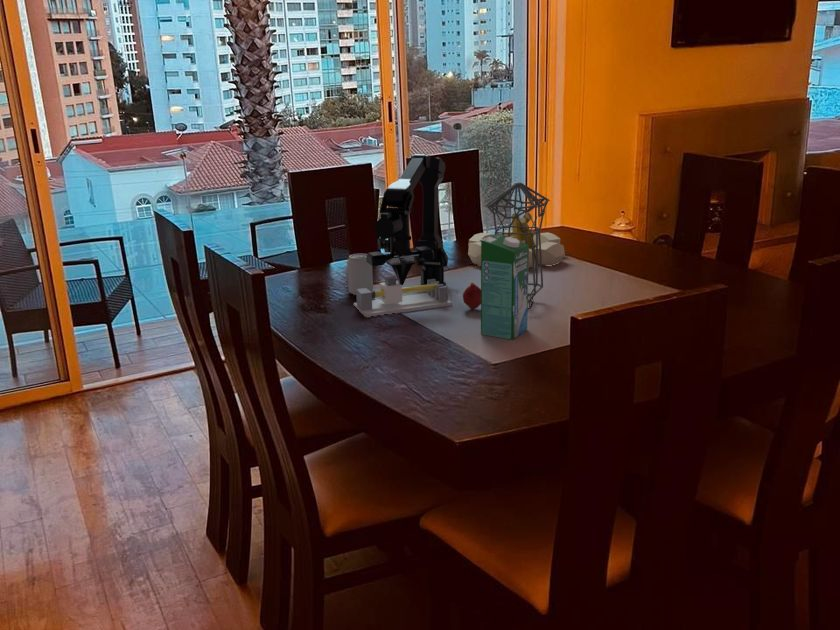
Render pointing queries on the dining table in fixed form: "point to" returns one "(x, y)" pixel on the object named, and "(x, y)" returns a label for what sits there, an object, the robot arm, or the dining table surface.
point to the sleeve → (391, 290)
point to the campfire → (549, 242)
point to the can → (359, 273)
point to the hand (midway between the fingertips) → (401, 285)
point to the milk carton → (504, 286)
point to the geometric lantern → (530, 197)
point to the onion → (472, 296)
